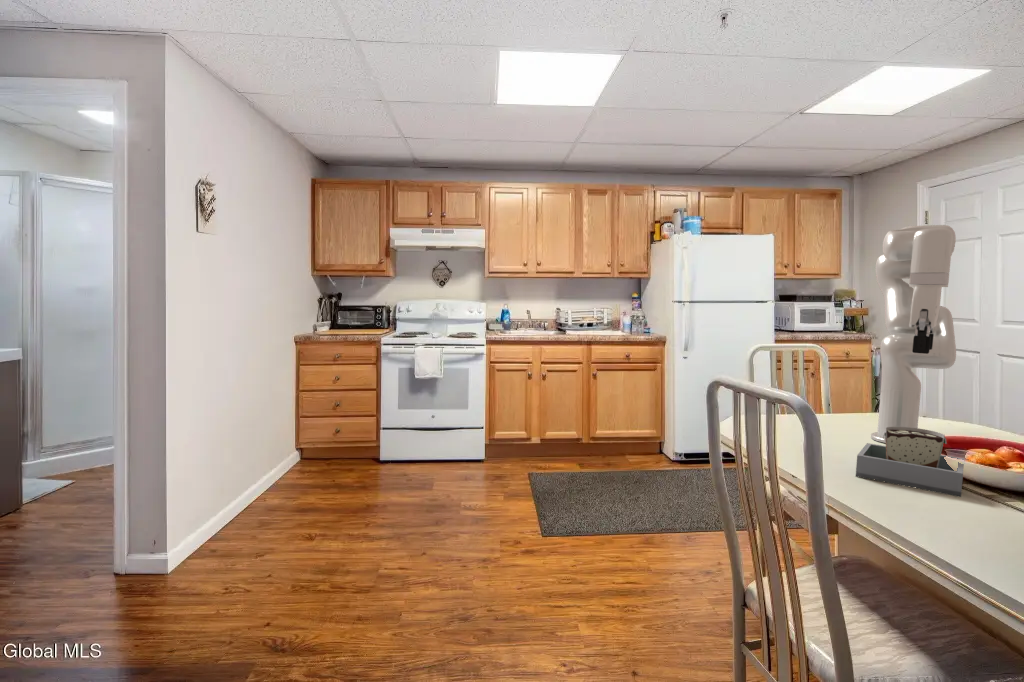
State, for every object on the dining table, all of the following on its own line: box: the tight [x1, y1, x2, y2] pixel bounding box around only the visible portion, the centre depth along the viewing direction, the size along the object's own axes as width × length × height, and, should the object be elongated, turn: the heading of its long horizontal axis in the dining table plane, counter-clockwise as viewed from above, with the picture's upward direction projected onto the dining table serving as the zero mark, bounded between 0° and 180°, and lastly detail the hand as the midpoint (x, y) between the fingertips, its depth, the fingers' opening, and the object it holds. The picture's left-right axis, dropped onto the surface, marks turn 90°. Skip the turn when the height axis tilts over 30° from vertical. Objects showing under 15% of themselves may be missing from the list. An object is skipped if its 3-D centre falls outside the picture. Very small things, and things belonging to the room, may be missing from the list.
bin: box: [855, 442, 965, 498], centre depth 127 cm, size 15×19×5 cm
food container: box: [882, 427, 948, 468], centre depth 129 cm, size 12×6×10 cm, turn 70°
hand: (922, 351), depth 134 cm, fingers open, 9 cm apart
